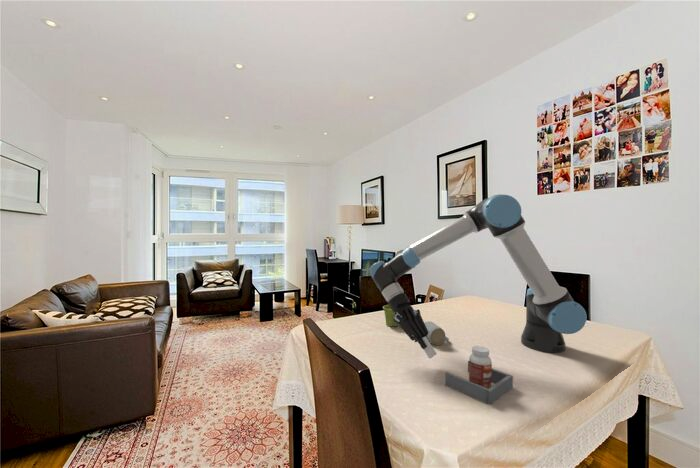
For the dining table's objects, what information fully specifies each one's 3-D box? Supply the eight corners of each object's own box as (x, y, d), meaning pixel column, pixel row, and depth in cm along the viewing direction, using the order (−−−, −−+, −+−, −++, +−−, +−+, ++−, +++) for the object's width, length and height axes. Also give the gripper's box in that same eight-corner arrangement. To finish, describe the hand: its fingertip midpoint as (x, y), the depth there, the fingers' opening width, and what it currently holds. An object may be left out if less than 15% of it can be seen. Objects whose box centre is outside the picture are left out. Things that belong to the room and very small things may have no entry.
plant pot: (390, 329, 143) (390, 310, 142) (378, 323, 151) (379, 305, 151) (406, 326, 147) (406, 308, 147) (394, 321, 155) (394, 303, 155)
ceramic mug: (430, 347, 121) (431, 327, 121) (419, 339, 129) (420, 321, 129) (453, 344, 125) (454, 325, 125) (441, 337, 133) (441, 319, 132)
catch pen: (445, 384, 92) (445, 373, 92) (469, 370, 101) (469, 360, 101) (490, 404, 82) (490, 391, 82) (512, 387, 91) (512, 375, 91)
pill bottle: (486, 393, 87) (487, 354, 87) (465, 385, 92) (465, 348, 91) (494, 385, 92) (495, 348, 92) (473, 378, 96) (474, 343, 96)
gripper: (401, 300, 122) (437, 356, 110) (378, 306, 114) (414, 366, 102) (412, 289, 118) (450, 346, 106) (389, 294, 110) (428, 356, 97)
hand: (432, 356), depth 104 cm, fingers closed
